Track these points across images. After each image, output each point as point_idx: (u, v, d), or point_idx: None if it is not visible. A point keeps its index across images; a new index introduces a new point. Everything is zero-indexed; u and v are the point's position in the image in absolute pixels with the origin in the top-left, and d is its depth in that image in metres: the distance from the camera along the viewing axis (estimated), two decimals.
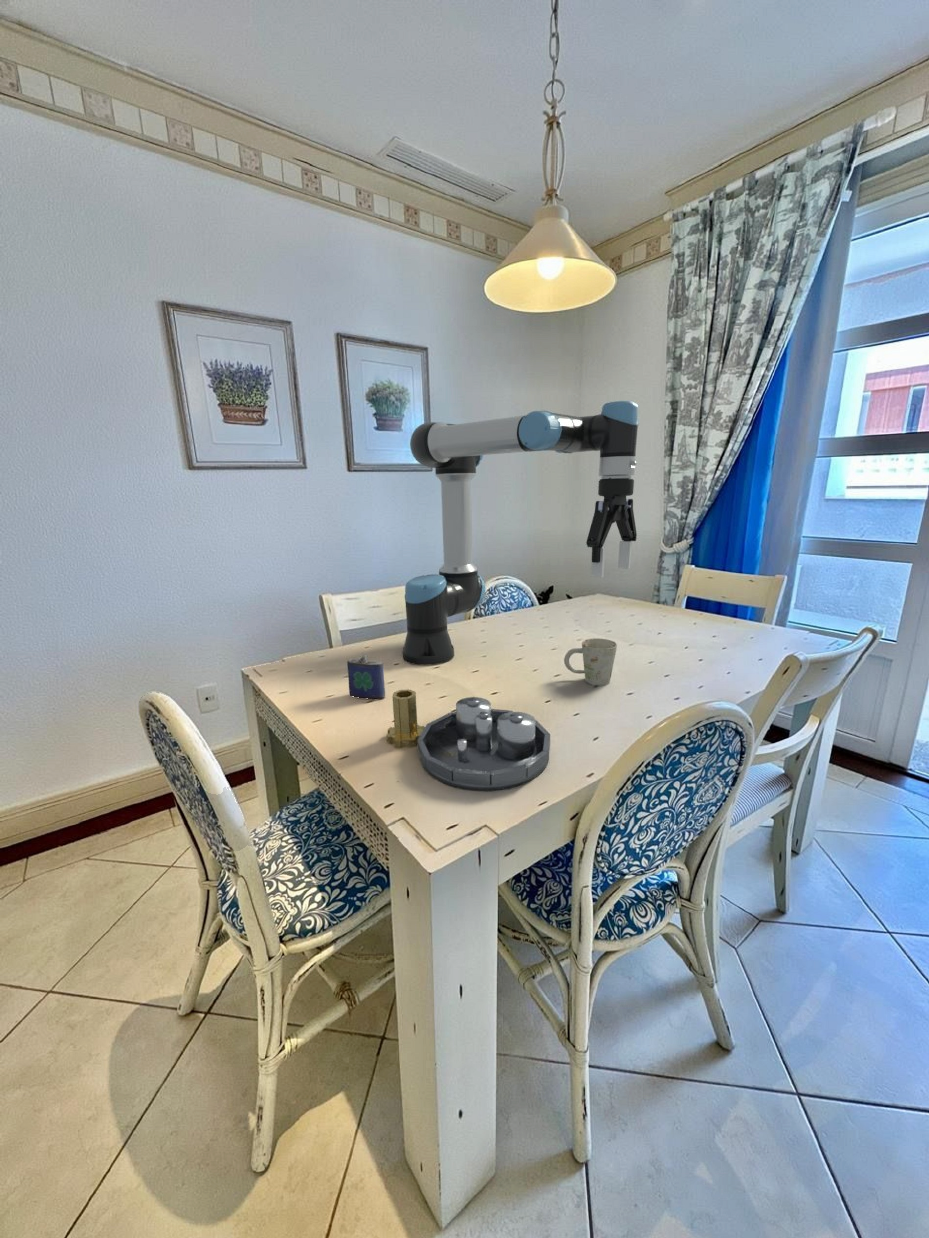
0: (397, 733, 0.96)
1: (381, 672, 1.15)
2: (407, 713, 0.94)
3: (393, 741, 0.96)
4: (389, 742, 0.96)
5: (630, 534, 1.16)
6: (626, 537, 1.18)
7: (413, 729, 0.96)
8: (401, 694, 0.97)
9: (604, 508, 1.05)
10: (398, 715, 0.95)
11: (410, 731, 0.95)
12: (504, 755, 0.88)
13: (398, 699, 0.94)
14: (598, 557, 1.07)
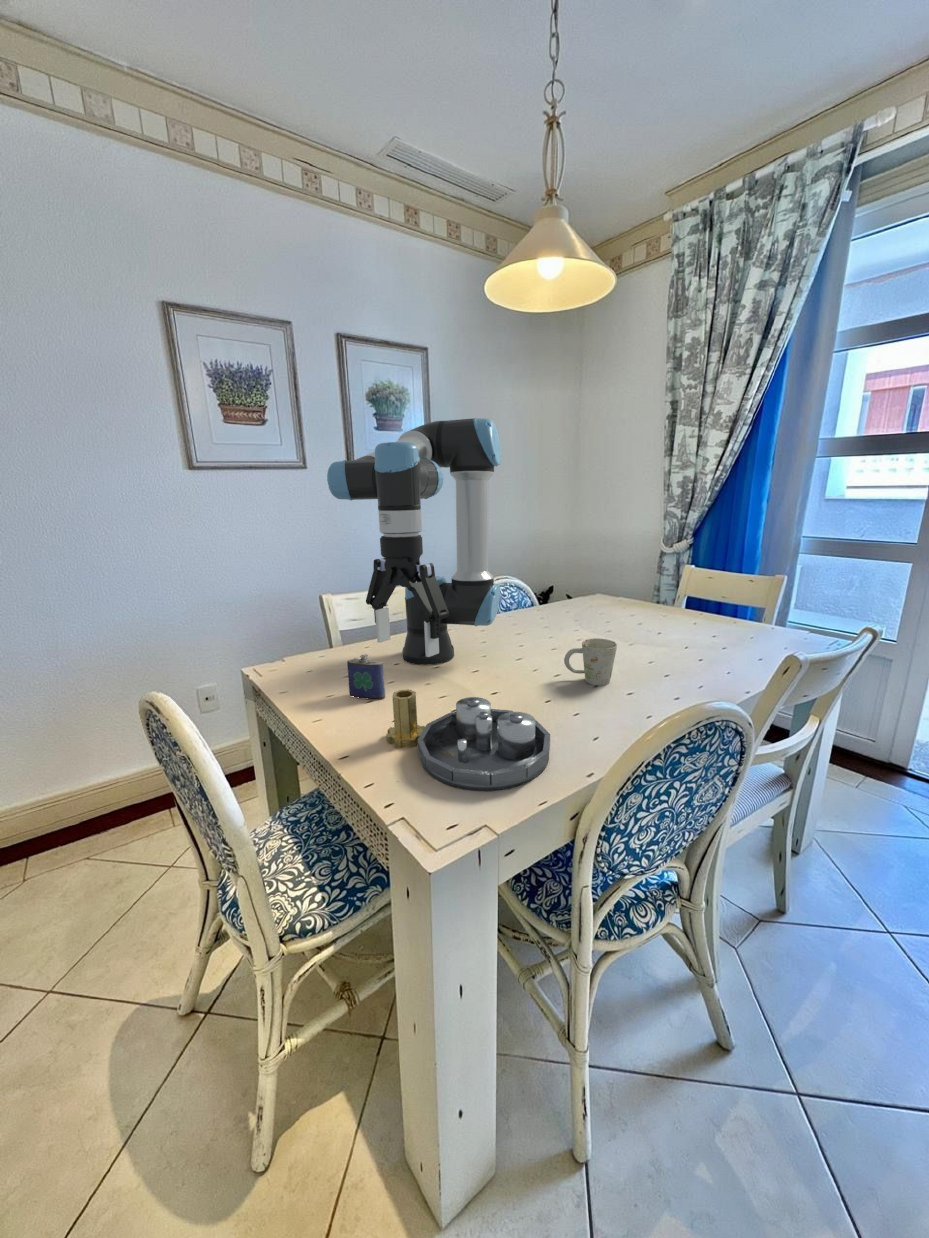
0: (397, 733, 0.96)
1: (381, 672, 1.15)
2: (407, 713, 0.94)
3: (393, 741, 0.96)
4: (389, 742, 0.96)
5: (424, 611, 0.86)
6: None
7: (413, 729, 0.96)
8: (401, 694, 0.97)
9: None
10: (398, 715, 0.95)
11: (410, 731, 0.95)
12: (504, 755, 0.88)
13: (398, 699, 0.94)
14: (376, 618, 0.97)
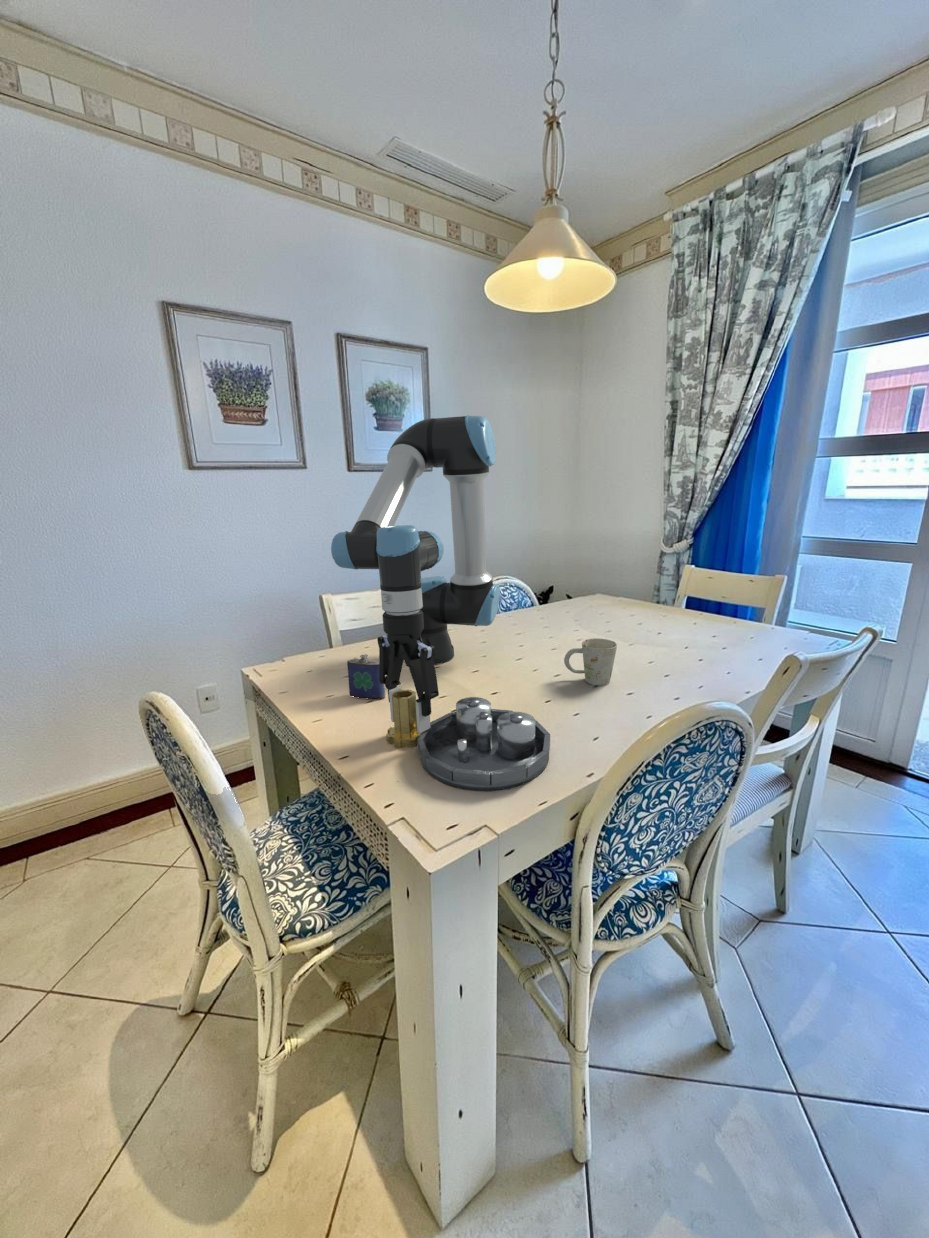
0: (397, 733, 0.96)
1: None
2: (407, 713, 0.94)
3: (393, 741, 0.96)
4: (389, 742, 0.96)
5: (417, 690, 0.91)
6: None
7: (413, 729, 0.96)
8: (401, 694, 0.97)
9: None
10: (398, 715, 0.95)
11: (410, 731, 0.95)
12: (504, 755, 0.88)
13: (398, 699, 0.94)
14: None
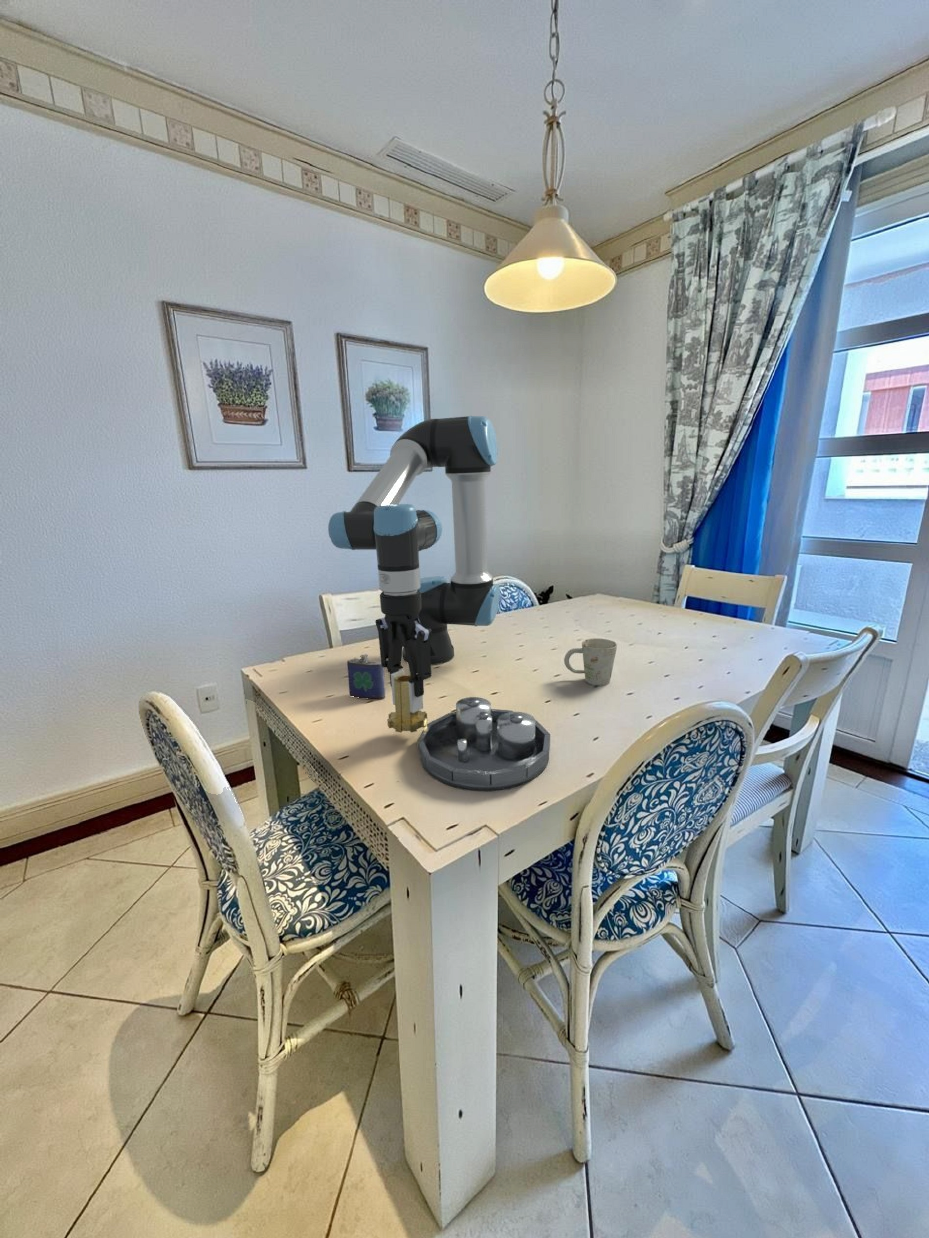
0: (398, 718, 0.96)
1: (381, 672, 1.15)
2: (408, 697, 0.94)
3: (394, 725, 0.95)
4: (390, 726, 0.96)
5: (410, 670, 0.92)
6: None
7: (414, 714, 0.95)
8: (403, 679, 0.97)
9: None
10: (399, 699, 0.94)
11: (411, 716, 0.95)
12: (504, 755, 0.88)
13: (400, 683, 0.93)
14: None
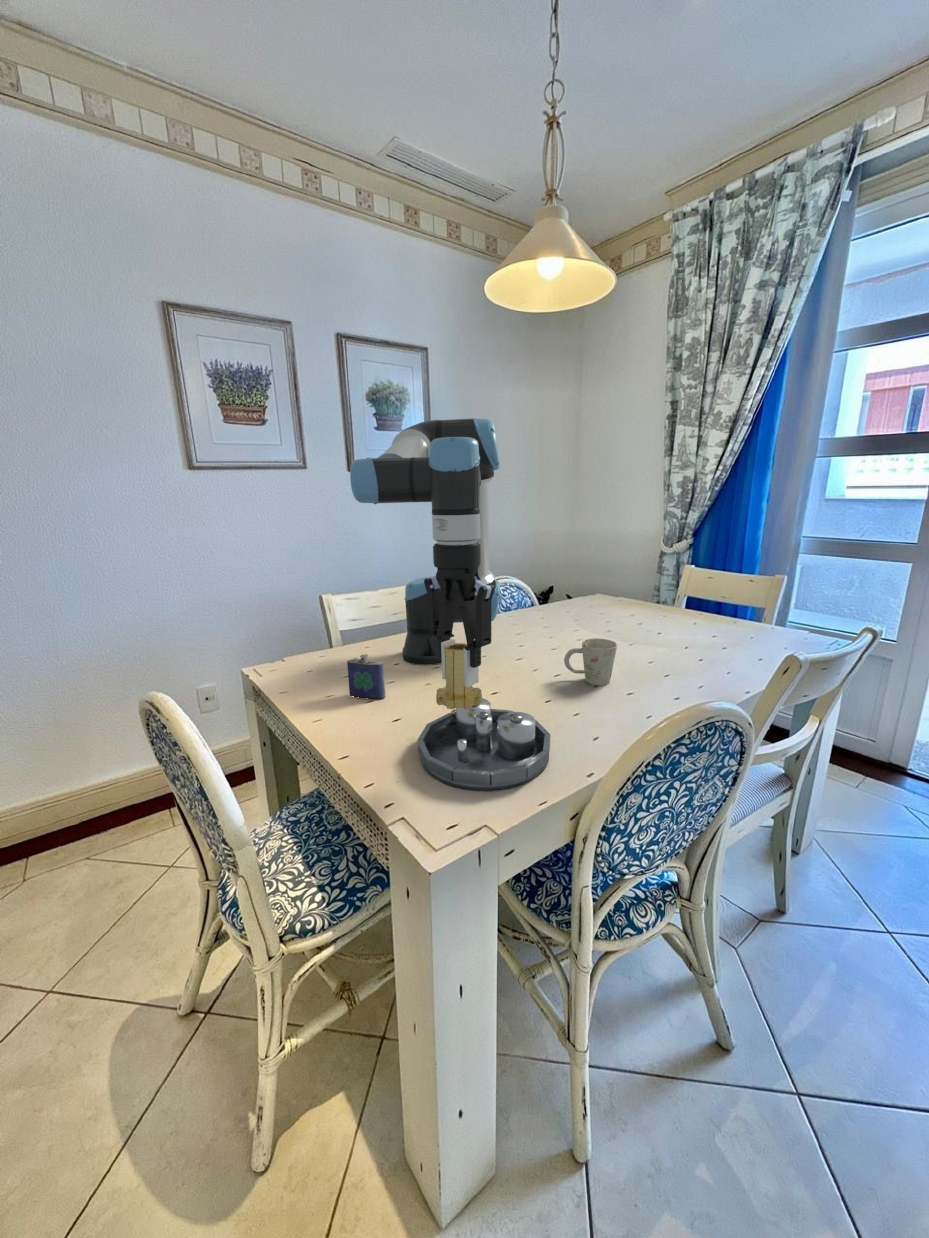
0: (449, 693, 0.82)
1: (381, 672, 1.15)
2: (462, 668, 0.80)
3: (444, 702, 0.82)
4: (439, 703, 0.82)
5: (467, 636, 0.78)
6: None
7: (468, 689, 0.82)
8: (454, 648, 0.83)
9: None
10: (451, 671, 0.81)
11: (465, 691, 0.81)
12: (504, 755, 0.88)
13: (453, 651, 0.80)
14: (441, 651, 0.84)
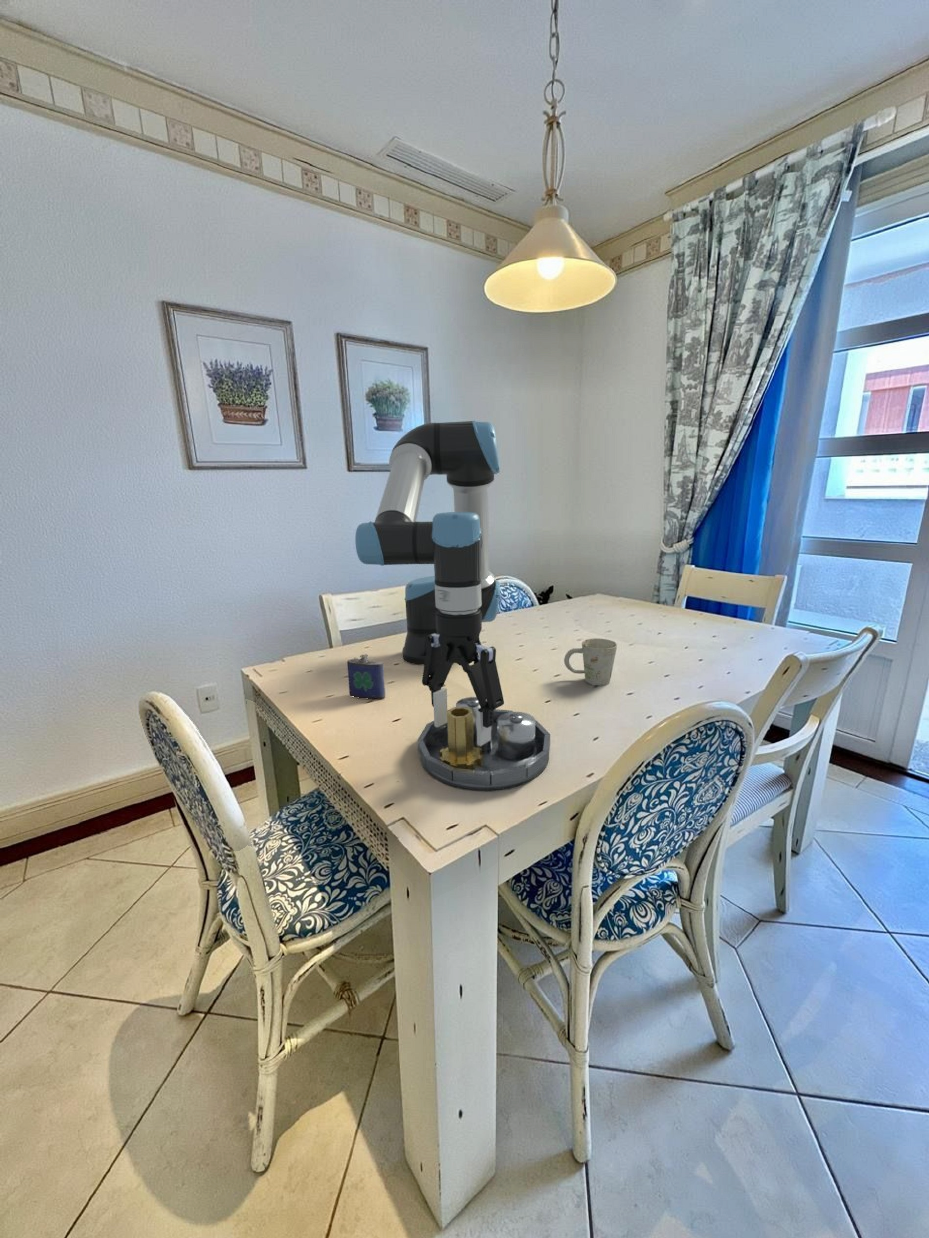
0: (451, 756, 0.85)
1: (381, 672, 1.15)
2: (464, 734, 0.83)
3: None
4: None
5: (478, 698, 0.80)
6: None
7: (470, 752, 0.85)
8: (455, 712, 0.86)
9: None
10: (453, 736, 0.84)
11: (467, 754, 0.85)
12: (504, 755, 0.88)
13: (454, 718, 0.83)
14: (433, 700, 0.89)
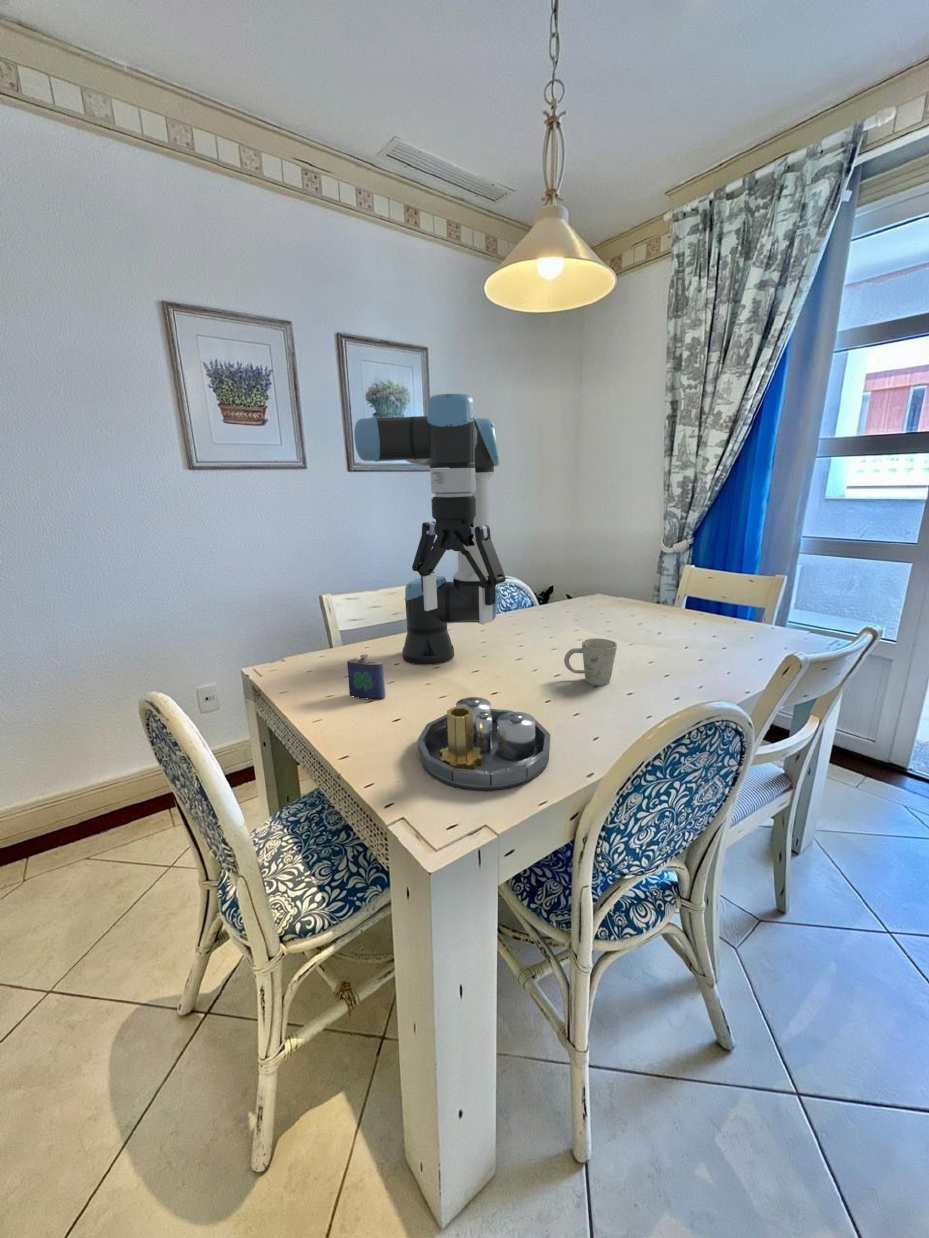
0: (451, 756, 0.85)
1: (381, 672, 1.15)
2: (464, 734, 0.83)
3: None
4: None
5: (479, 576, 0.82)
6: None
7: (470, 752, 0.85)
8: (455, 712, 0.86)
9: None
10: (453, 736, 0.84)
11: (467, 754, 0.85)
12: (504, 755, 0.88)
13: (454, 718, 0.83)
14: (423, 586, 0.92)
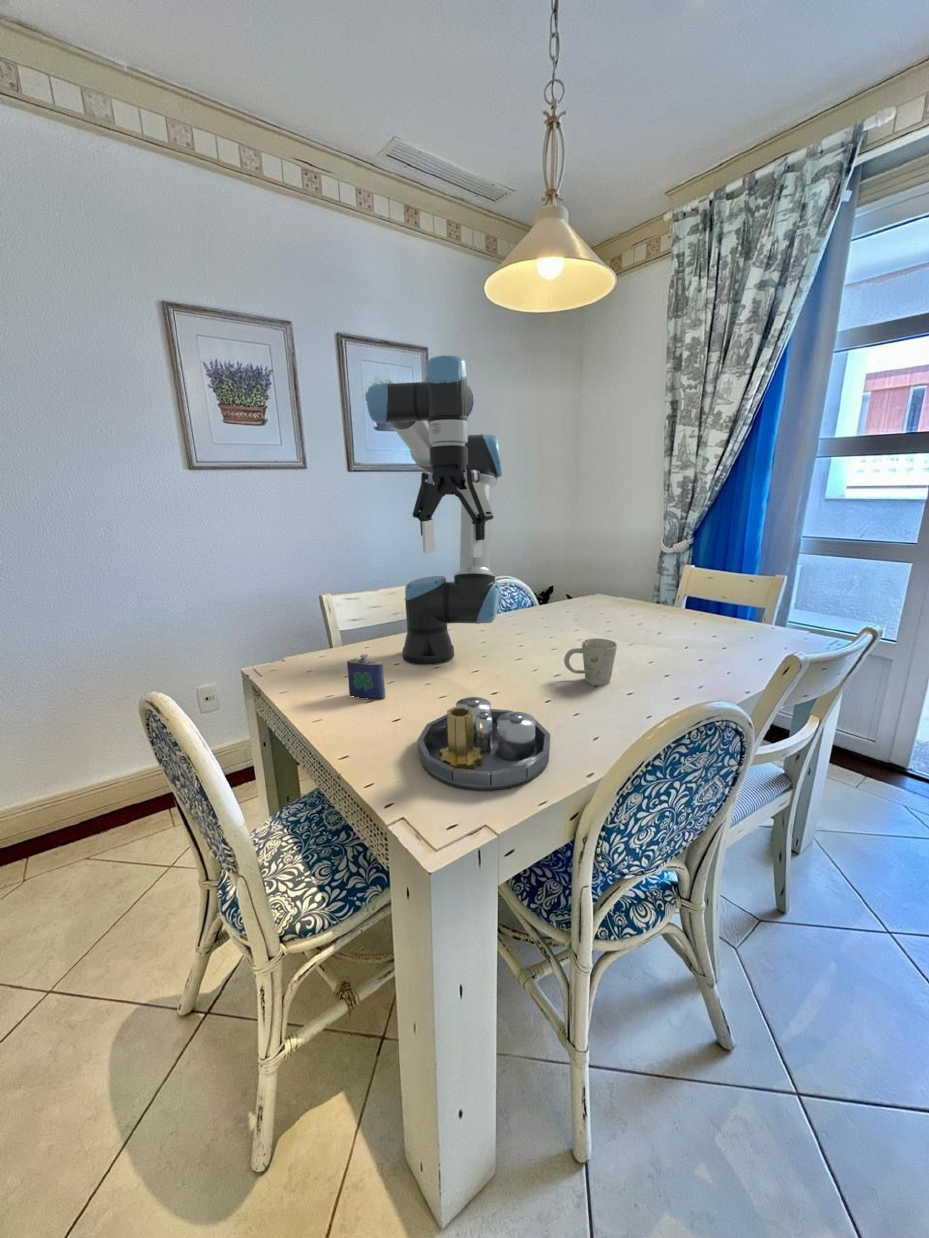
0: (451, 756, 0.85)
1: (381, 672, 1.15)
2: (464, 734, 0.83)
3: None
4: None
5: (470, 514, 0.94)
6: None
7: (470, 752, 0.85)
8: (455, 712, 0.86)
9: None
10: (453, 736, 0.84)
11: (467, 754, 0.85)
12: (504, 755, 0.88)
13: (454, 718, 0.83)
14: (422, 530, 1.05)
